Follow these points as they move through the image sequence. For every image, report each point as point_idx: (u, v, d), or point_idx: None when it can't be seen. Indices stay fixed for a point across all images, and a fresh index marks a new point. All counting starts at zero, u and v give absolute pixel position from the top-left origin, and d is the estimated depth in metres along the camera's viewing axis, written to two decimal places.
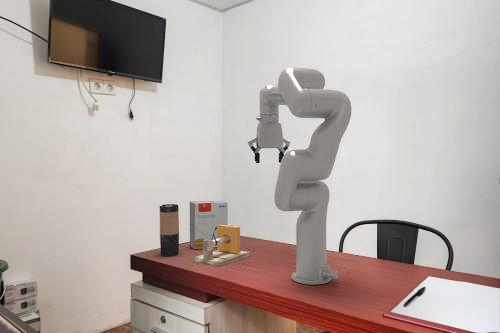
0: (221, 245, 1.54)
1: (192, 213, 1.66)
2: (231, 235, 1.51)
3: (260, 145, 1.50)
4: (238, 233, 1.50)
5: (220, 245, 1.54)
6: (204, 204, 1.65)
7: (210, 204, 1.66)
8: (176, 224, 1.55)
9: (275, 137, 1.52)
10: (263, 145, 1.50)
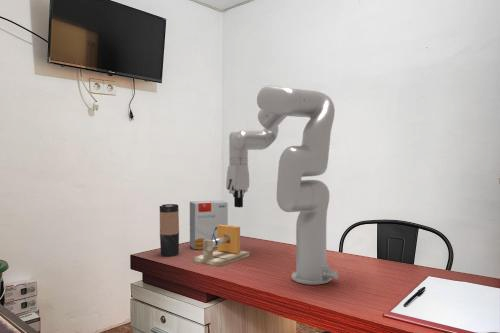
0: (221, 245, 1.54)
1: (192, 213, 1.66)
2: (231, 235, 1.51)
3: None
4: (238, 233, 1.50)
5: (220, 245, 1.54)
6: (204, 204, 1.65)
7: (210, 204, 1.66)
8: (176, 224, 1.55)
9: None
10: None
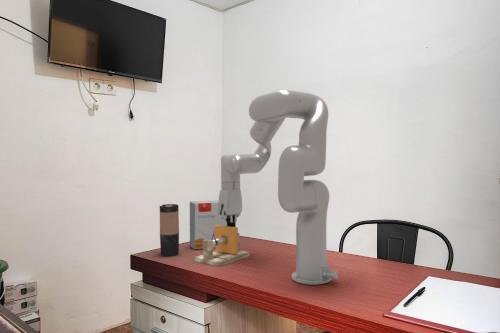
0: (219, 246, 1.53)
1: (192, 213, 1.66)
2: (229, 236, 1.50)
3: None
4: (236, 234, 1.49)
5: (218, 246, 1.53)
6: (204, 204, 1.65)
7: (210, 204, 1.66)
8: (176, 224, 1.55)
9: None
10: None
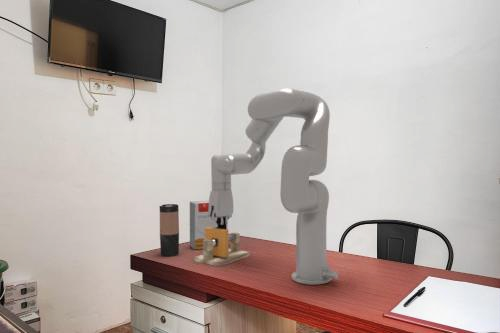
0: None
1: (192, 213, 1.66)
2: (219, 238, 1.45)
3: None
4: (226, 236, 1.44)
5: None
6: (204, 204, 1.65)
7: None
8: (176, 224, 1.55)
9: None
10: None
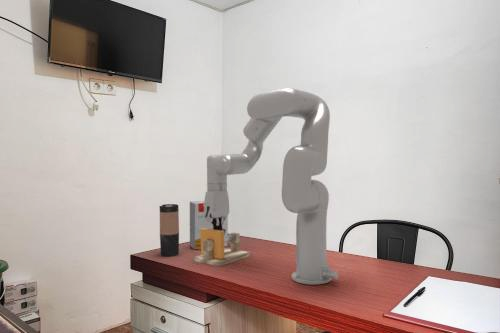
0: None
1: (192, 213, 1.66)
2: (215, 239, 1.43)
3: None
4: (222, 237, 1.42)
5: None
6: None
7: None
8: (176, 224, 1.55)
9: None
10: None
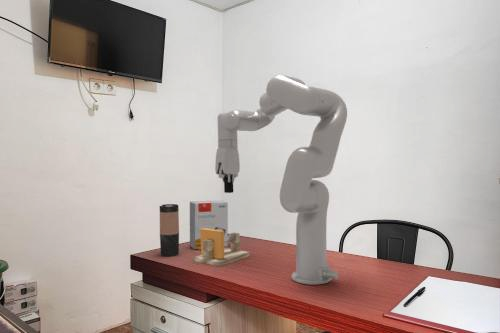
0: None
1: (192, 213, 1.66)
2: (215, 239, 1.43)
3: None
4: (222, 237, 1.42)
5: None
6: (204, 204, 1.65)
7: (210, 204, 1.66)
8: (176, 224, 1.55)
9: None
10: None
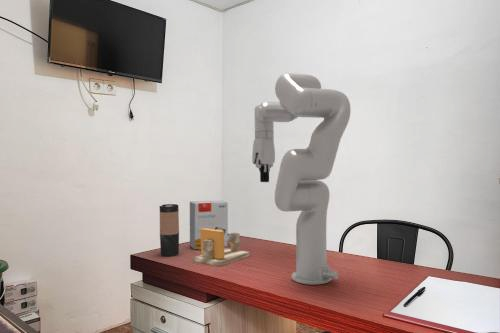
0: None
1: (192, 213, 1.66)
2: (215, 239, 1.43)
3: None
4: (222, 237, 1.42)
5: None
6: (204, 204, 1.65)
7: (210, 204, 1.66)
8: (176, 224, 1.55)
9: None
10: None
